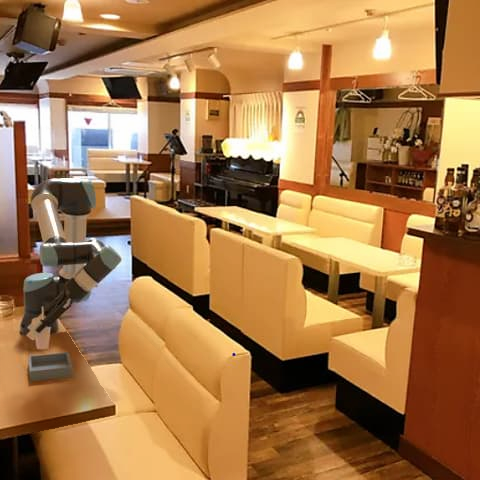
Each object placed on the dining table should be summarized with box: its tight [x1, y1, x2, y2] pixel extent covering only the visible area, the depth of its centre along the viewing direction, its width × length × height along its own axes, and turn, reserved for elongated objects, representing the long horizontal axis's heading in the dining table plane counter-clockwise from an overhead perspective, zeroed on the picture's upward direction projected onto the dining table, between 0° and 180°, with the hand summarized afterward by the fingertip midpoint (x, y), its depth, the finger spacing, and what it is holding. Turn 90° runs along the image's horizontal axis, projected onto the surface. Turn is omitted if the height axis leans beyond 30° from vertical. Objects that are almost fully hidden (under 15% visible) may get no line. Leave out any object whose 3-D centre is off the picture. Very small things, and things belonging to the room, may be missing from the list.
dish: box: [27, 351, 73, 382], centre depth 198 cm, size 14×14×4 cm
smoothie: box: [32, 307, 51, 350], centre depth 187 cm, size 6×6×14 cm
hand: (30, 333), depth 186 cm, fingers closed on smoothie, 6 cm apart
